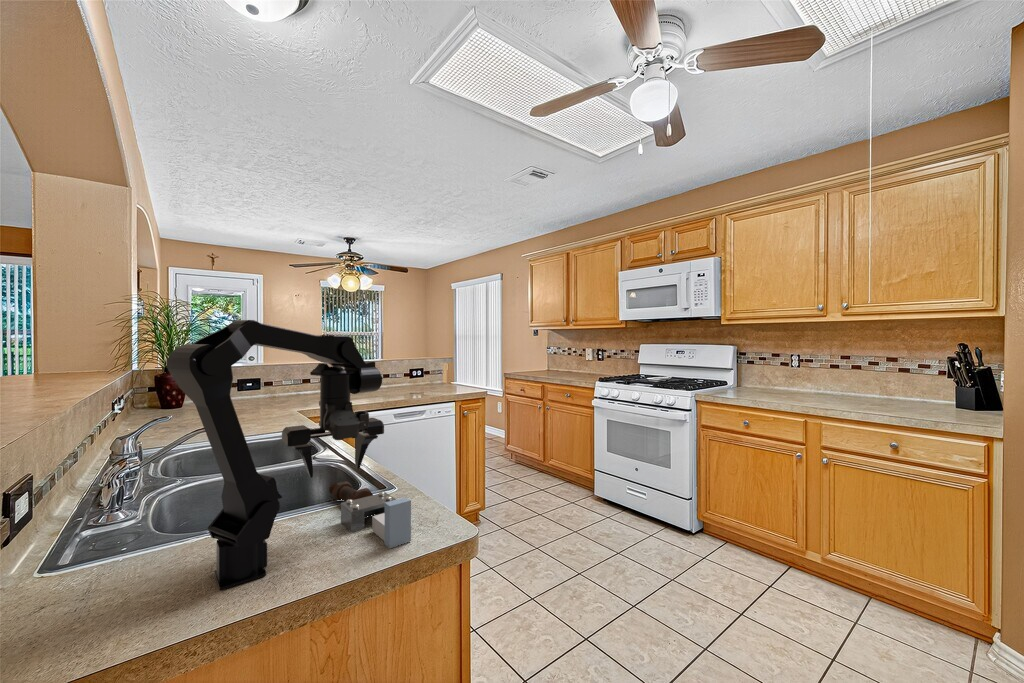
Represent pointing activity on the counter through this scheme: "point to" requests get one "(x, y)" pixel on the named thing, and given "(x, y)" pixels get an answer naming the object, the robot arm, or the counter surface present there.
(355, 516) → the housing
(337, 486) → the brown lumpy shape
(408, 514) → the handle
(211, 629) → the counter surface
